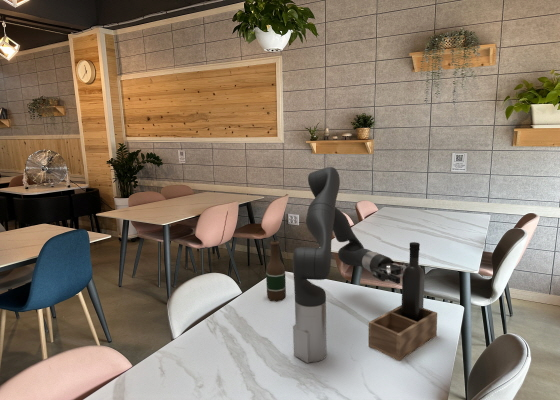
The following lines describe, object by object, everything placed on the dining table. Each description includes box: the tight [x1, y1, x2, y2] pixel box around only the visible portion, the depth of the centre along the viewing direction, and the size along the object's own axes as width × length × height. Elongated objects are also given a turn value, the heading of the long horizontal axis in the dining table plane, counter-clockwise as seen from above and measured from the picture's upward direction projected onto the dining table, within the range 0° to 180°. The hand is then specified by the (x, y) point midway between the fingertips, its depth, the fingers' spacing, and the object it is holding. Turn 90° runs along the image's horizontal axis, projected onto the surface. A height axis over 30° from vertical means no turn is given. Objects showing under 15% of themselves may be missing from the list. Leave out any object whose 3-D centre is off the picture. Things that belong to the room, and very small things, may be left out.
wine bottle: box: [400, 241, 426, 322], centre depth 123 cm, size 6×6×30 cm
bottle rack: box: [368, 304, 438, 362], centre depth 122 cm, size 21×11×8 cm, turn 130°
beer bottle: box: [265, 240, 287, 303], centre depth 156 cm, size 8×8×24 cm
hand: (409, 278), depth 124 cm, fingers open, 8 cm apart
